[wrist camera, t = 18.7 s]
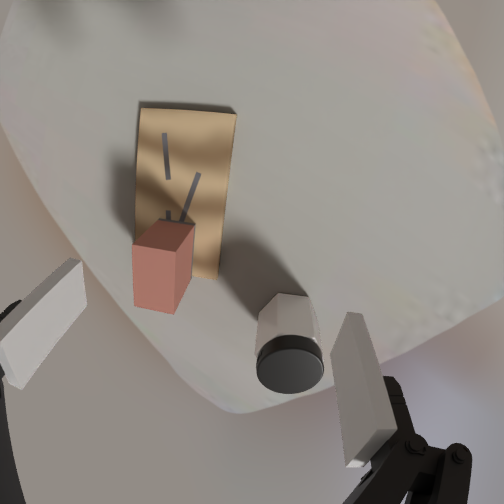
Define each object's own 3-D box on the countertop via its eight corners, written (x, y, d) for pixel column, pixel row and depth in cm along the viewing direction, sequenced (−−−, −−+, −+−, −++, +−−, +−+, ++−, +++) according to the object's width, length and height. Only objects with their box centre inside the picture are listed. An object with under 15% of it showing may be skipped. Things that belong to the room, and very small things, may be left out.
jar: (251, 300, 46) (243, 356, 35) (304, 283, 44) (312, 337, 33) (273, 345, 49) (271, 402, 38) (322, 330, 47) (332, 386, 36)
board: (144, 108, 36) (141, 108, 35) (237, 114, 36) (235, 114, 35) (138, 262, 45) (135, 266, 44) (218, 275, 45) (216, 280, 44)
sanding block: (159, 218, 41) (132, 244, 32) (195, 223, 41) (175, 252, 32) (158, 271, 44) (134, 305, 36) (191, 277, 44) (173, 314, 36)
